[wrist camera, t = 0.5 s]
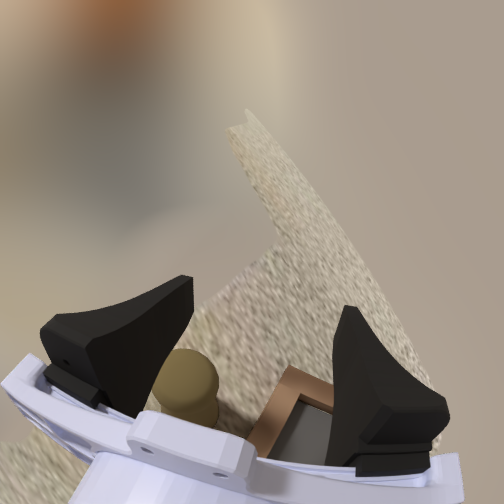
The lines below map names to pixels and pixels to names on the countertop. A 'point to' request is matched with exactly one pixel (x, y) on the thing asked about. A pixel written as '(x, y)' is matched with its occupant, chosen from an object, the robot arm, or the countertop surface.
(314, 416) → the holder
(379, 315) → the countertop surface
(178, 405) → the cork
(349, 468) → the robot arm
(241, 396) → the countertop surface
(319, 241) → the countertop surface
